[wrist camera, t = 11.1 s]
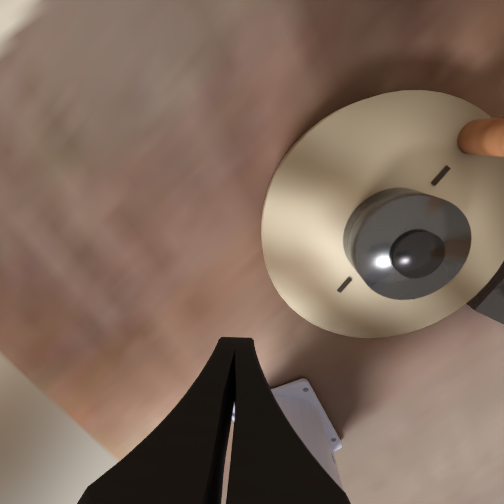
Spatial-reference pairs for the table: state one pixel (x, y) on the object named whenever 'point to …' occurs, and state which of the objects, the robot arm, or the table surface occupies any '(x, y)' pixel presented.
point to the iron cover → (406, 242)
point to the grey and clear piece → (491, 297)
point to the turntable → (370, 182)
